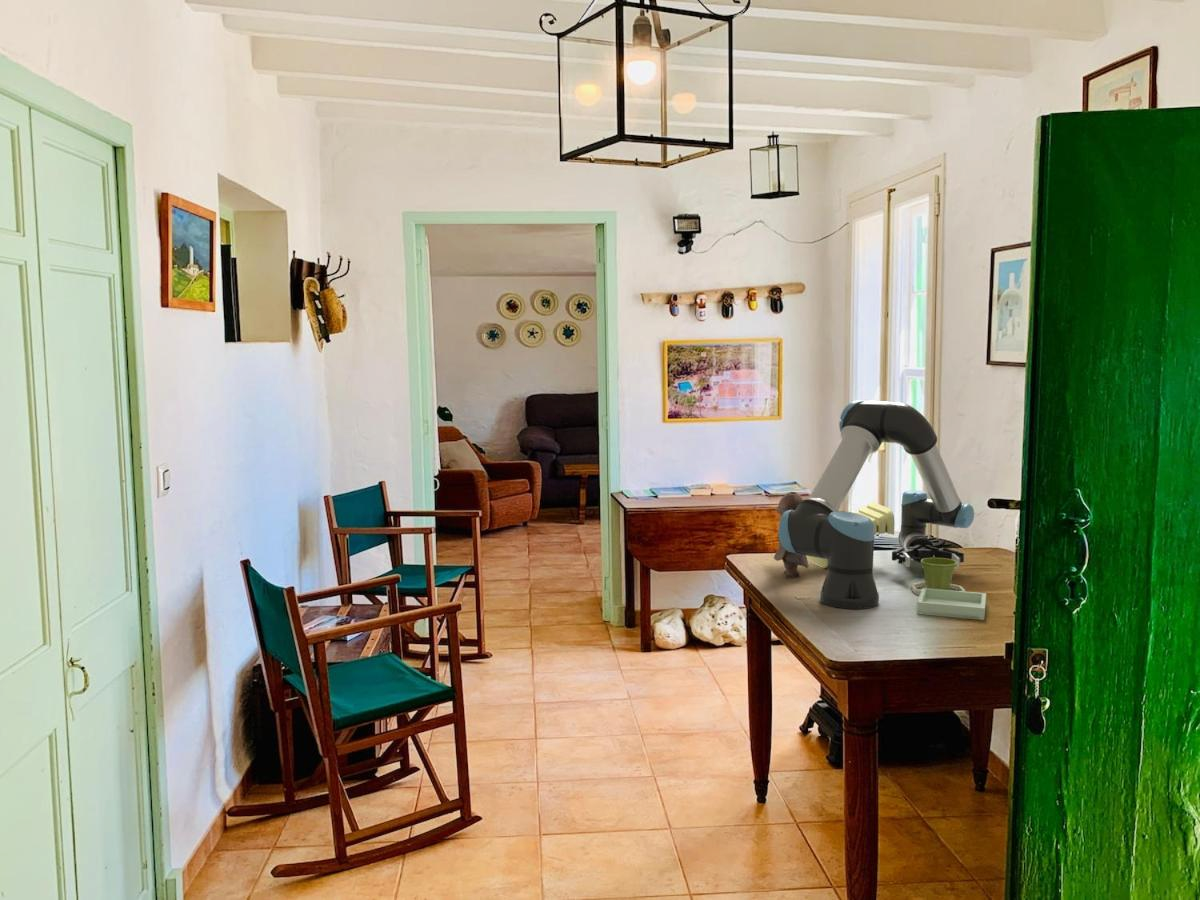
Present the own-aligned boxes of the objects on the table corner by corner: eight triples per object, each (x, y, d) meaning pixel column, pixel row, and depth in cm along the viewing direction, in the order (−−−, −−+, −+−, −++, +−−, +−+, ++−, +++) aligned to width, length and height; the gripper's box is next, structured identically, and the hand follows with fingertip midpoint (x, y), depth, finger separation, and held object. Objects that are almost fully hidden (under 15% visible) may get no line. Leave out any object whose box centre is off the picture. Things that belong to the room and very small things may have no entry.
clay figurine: (773, 570, 310) (775, 488, 307) (807, 572, 308) (809, 489, 305) (773, 581, 297) (775, 495, 294) (809, 582, 295) (810, 495, 293)
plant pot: (932, 597, 279) (933, 565, 278) (913, 589, 288) (914, 558, 287) (962, 594, 281) (963, 563, 280) (942, 586, 290) (943, 556, 289)
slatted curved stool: (798, 571, 309) (799, 513, 307) (780, 560, 324) (781, 504, 322) (893, 568, 313) (894, 510, 311) (871, 557, 329) (872, 501, 327)
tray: (984, 620, 256) (984, 608, 256) (917, 613, 262) (917, 602, 262) (985, 604, 271) (986, 593, 271) (922, 598, 277) (922, 587, 277)
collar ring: (945, 600, 275) (945, 596, 275) (901, 590, 285) (901, 586, 285) (973, 592, 283) (973, 588, 283) (930, 583, 294) (930, 579, 294)
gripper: (960, 560, 312) (978, 576, 291) (876, 558, 315) (887, 574, 294) (961, 536, 311) (979, 550, 290) (877, 534, 314) (888, 548, 293)
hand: (933, 562), depth 292 cm, fingers open, 13 cm apart
